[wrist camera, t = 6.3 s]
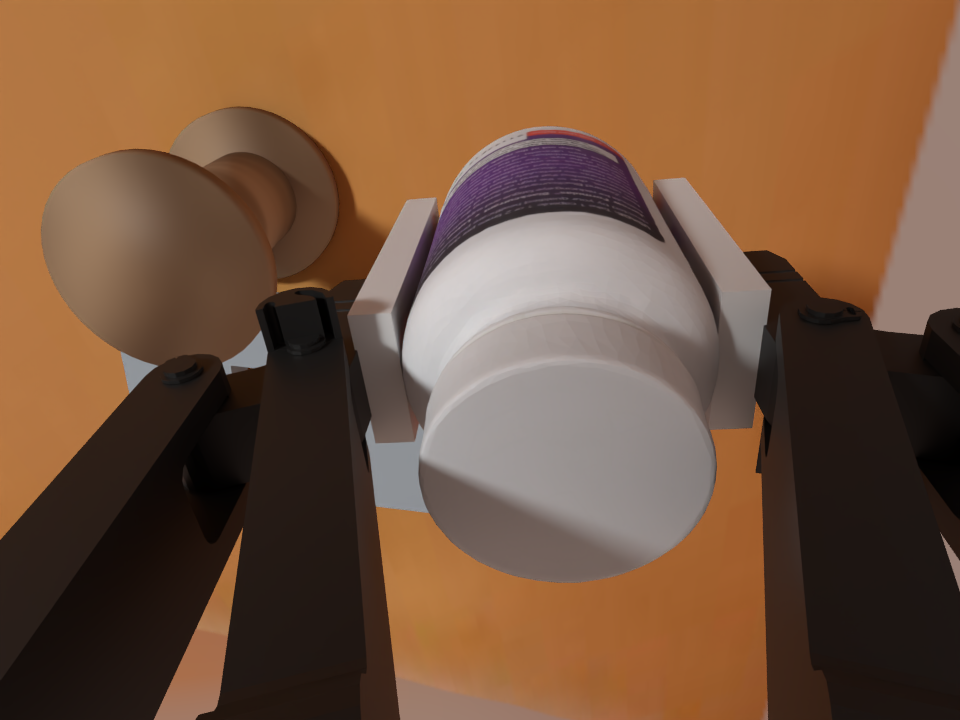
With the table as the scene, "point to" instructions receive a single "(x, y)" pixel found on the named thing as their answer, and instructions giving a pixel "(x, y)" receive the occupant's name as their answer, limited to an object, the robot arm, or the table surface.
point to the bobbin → (189, 234)
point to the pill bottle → (560, 365)
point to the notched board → (388, 460)
